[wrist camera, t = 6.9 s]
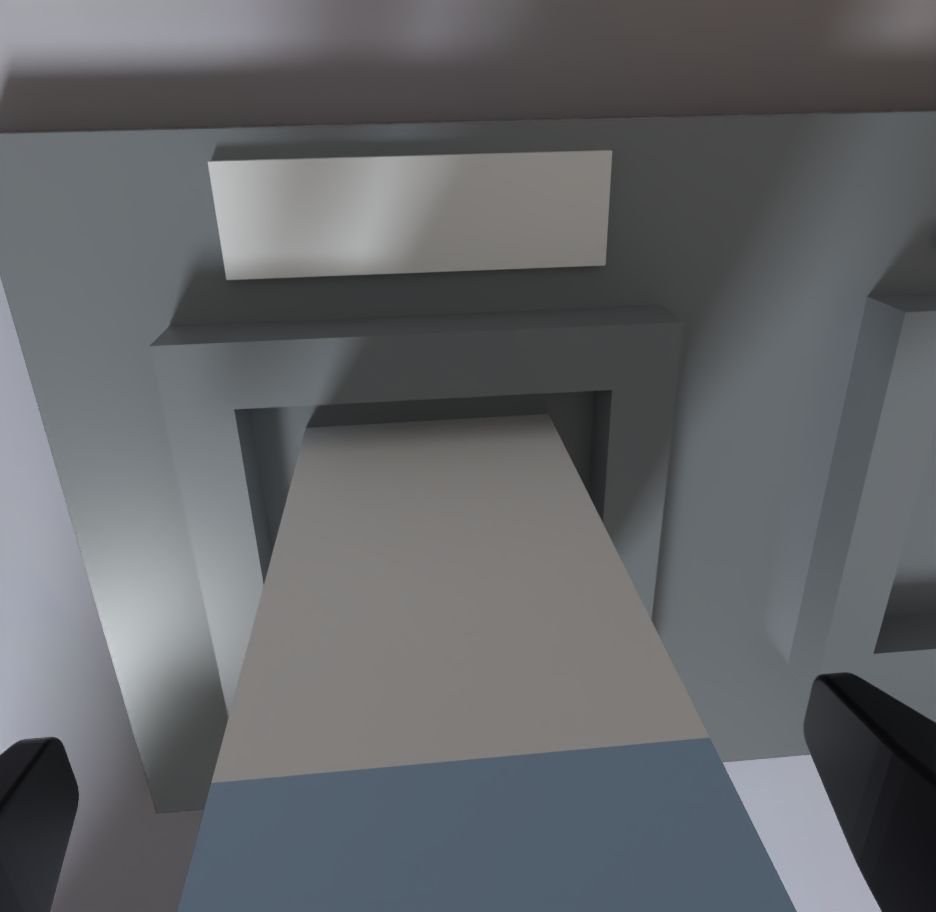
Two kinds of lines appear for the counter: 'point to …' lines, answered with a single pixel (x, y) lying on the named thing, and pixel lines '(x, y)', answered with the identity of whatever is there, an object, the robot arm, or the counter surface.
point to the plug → (462, 701)
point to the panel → (499, 374)
